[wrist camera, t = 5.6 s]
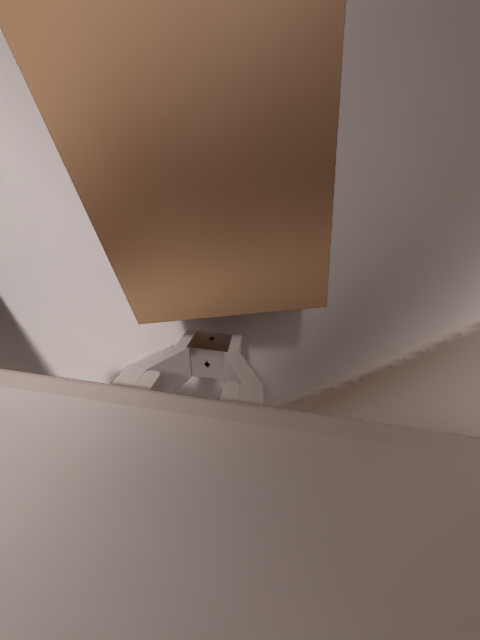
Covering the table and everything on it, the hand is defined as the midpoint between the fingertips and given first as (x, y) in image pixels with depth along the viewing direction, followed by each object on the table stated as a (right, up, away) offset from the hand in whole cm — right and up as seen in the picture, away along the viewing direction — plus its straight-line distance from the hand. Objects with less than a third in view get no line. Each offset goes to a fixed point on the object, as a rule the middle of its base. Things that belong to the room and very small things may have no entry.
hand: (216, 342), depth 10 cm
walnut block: (+1, +7, -2) cm, 7 cm away
